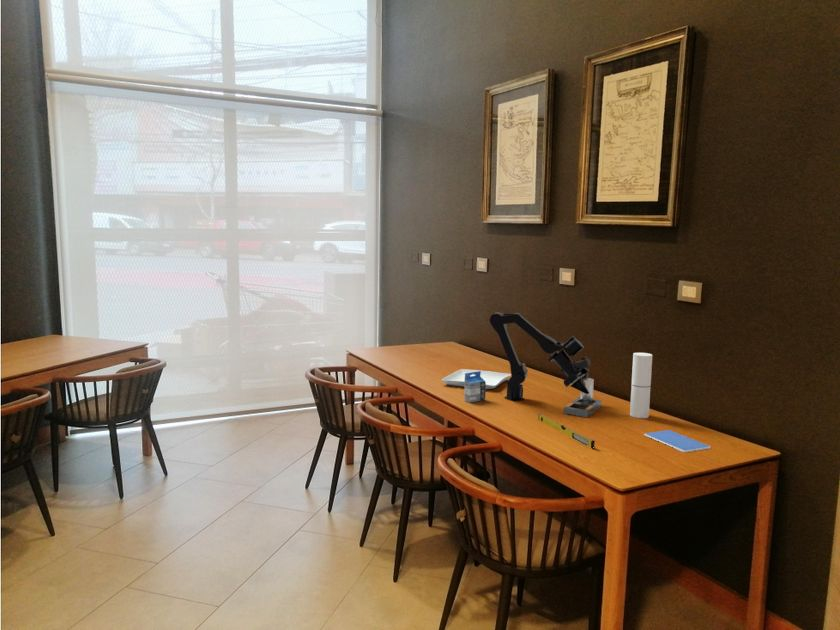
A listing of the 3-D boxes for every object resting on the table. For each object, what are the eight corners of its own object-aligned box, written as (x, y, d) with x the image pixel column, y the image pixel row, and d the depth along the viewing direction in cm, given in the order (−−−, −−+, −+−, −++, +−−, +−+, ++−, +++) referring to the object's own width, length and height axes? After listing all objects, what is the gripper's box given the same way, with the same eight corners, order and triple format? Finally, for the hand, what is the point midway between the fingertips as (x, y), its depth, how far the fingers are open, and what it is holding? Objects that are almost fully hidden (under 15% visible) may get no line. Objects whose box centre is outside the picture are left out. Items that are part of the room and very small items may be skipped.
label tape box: (469, 403, 264) (470, 374, 263) (463, 401, 268) (464, 373, 266) (485, 400, 269) (486, 372, 268) (479, 398, 273) (480, 370, 271)
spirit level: (538, 421, 240) (538, 413, 240) (541, 421, 241) (541, 413, 240) (591, 449, 209) (591, 441, 209) (594, 449, 210) (594, 440, 210)
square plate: (512, 380, 308) (512, 373, 307) (495, 393, 283) (495, 385, 282) (461, 375, 319) (461, 367, 318) (440, 386, 294) (440, 378, 294)
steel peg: (586, 409, 257) (587, 381, 255) (577, 406, 261) (578, 378, 259) (595, 407, 259) (596, 379, 258) (586, 404, 263) (587, 377, 262)
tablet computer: (712, 449, 211) (712, 446, 211) (684, 454, 206) (684, 450, 206) (669, 432, 229) (669, 429, 229) (642, 436, 224) (642, 433, 224)
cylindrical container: (636, 418, 244) (640, 356, 241) (626, 413, 251) (629, 352, 248) (652, 417, 246) (656, 355, 243) (641, 412, 253) (645, 352, 250)
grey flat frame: (586, 417, 245) (587, 410, 245) (563, 413, 250) (563, 407, 250) (601, 406, 262) (601, 399, 262) (579, 402, 267) (579, 396, 267)
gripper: (572, 355, 251) (598, 385, 247) (585, 348, 267) (610, 376, 263) (552, 371, 256) (578, 401, 252) (567, 363, 272) (591, 391, 268)
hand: (590, 392), depth 258 cm, fingers closed on steel peg, 5 cm apart
